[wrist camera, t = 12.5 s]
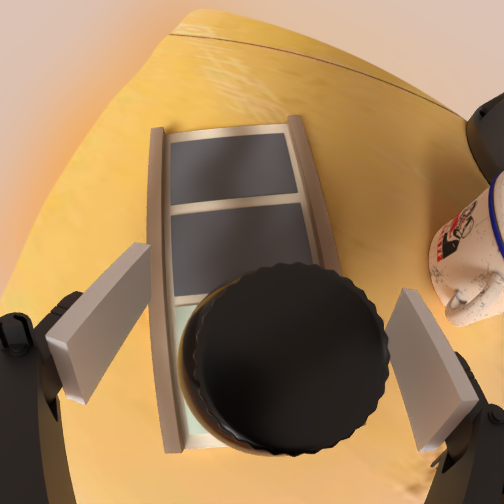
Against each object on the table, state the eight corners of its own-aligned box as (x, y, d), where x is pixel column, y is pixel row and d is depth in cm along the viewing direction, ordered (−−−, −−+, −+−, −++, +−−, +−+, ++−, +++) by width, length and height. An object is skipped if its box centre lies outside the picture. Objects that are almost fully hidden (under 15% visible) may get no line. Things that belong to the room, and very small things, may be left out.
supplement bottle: (238, 290, 20) (245, 178, 9) (334, 343, 19) (455, 300, 8) (180, 384, 17) (97, 400, 6) (280, 439, 16) (344, 527, 5)
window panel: (296, 131, 26) (300, 115, 24) (355, 420, 18) (366, 424, 16) (155, 143, 25) (150, 128, 23) (171, 445, 17) (164, 453, 15)
